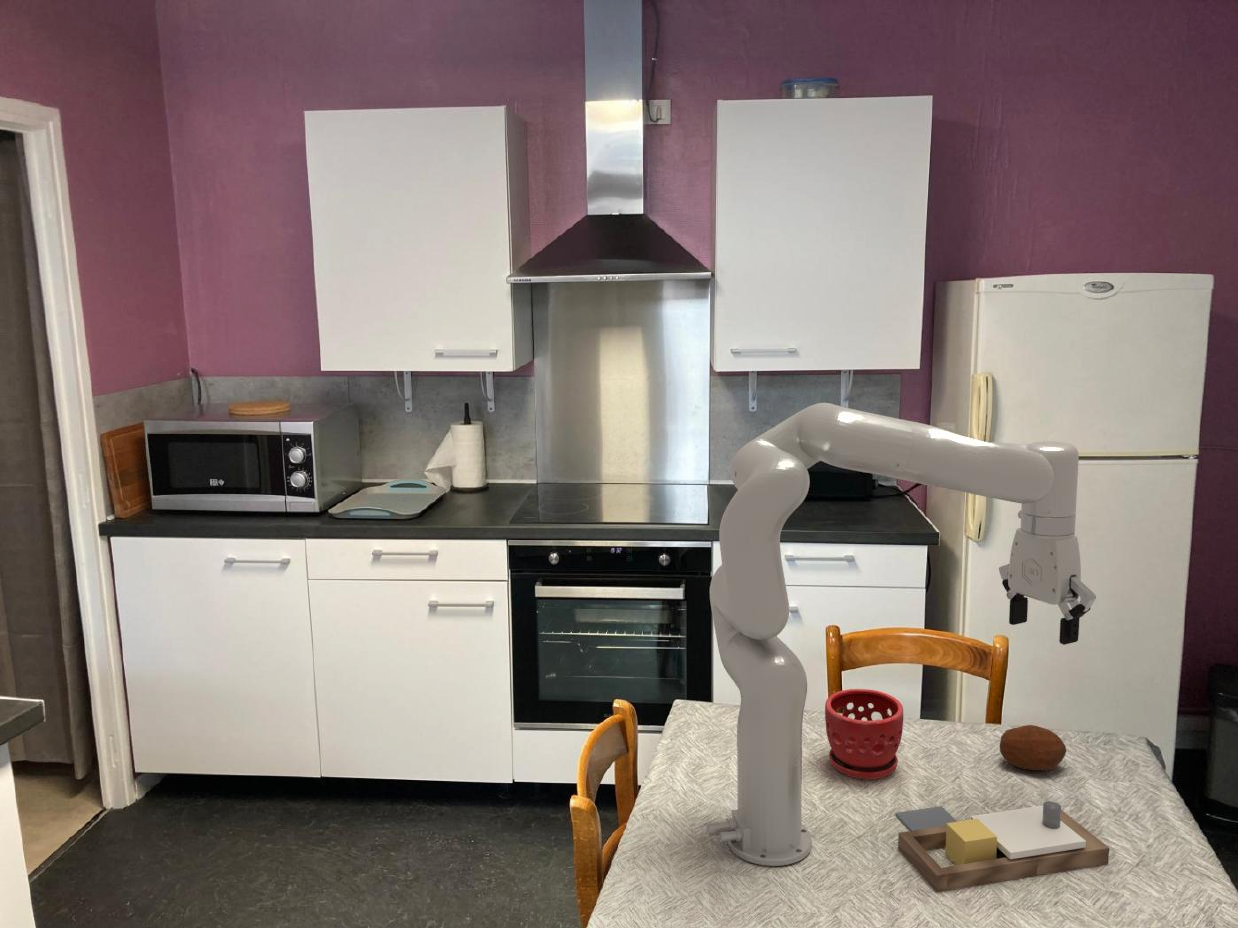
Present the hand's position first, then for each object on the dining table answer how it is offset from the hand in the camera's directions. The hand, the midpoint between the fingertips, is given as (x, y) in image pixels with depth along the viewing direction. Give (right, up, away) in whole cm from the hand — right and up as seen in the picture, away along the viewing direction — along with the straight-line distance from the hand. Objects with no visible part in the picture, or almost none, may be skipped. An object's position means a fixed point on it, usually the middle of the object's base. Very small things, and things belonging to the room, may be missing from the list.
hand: (1042, 632), depth 149 cm
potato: (+6, -27, +19) cm, 33 cm away
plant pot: (-23, -27, +20) cm, 41 cm away
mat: (-17, -30, +1) cm, 34 cm away
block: (-14, -32, -8) cm, 36 cm away
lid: (-5, -28, -7) cm, 30 cm away
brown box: (-9, -31, -7) cm, 33 cm away
